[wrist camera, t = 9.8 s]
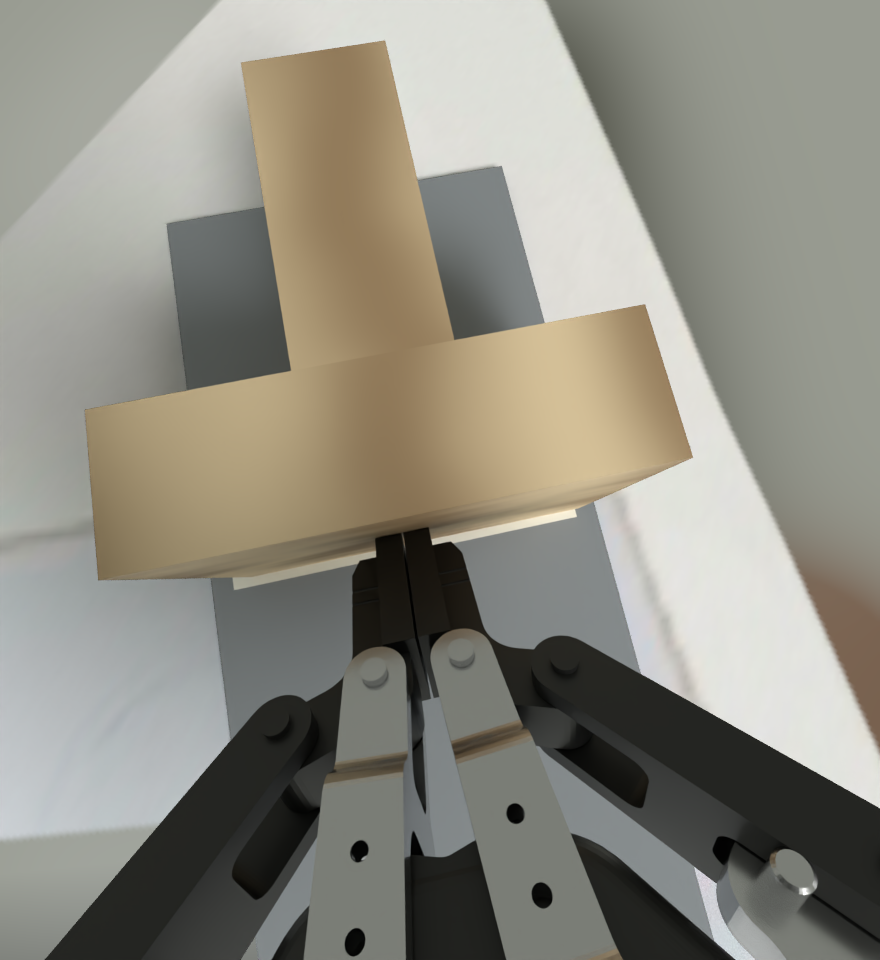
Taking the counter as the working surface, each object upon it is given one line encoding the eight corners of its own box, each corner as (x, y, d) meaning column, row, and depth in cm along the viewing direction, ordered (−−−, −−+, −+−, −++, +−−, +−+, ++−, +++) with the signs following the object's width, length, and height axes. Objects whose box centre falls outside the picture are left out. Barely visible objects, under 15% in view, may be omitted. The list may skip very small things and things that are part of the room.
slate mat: (280, 1091, 15) (276, 1105, 14) (171, 230, 20) (166, 223, 20) (718, 973, 16) (725, 983, 15) (500, 173, 21) (501, 165, 21)
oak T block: (250, 576, 17) (98, 580, 9) (211, 286, 19) (59, 90, 11) (578, 508, 18) (693, 457, 10) (506, 234, 20) (553, 14, 12)
